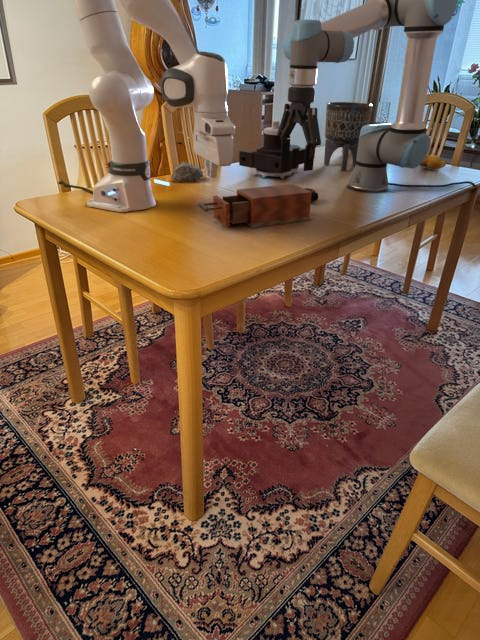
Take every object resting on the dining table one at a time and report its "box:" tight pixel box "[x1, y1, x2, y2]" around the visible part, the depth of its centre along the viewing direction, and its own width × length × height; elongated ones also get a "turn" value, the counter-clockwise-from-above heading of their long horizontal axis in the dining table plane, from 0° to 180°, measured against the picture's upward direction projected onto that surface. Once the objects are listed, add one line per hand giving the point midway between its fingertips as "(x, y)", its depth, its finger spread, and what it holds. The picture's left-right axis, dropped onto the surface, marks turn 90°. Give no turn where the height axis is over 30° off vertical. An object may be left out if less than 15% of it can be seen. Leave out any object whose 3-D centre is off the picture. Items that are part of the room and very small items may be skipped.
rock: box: [170, 161, 204, 183], centre depth 180 cm, size 13×9×6 cm, turn 131°
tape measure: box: [303, 187, 319, 202], centre depth 158 cm, size 7×7×4 cm
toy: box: [418, 154, 447, 171], centre depth 211 cm, size 11×6×15 cm
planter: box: [323, 101, 374, 172], centre depth 204 cm, size 20×20×26 cm
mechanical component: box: [238, 120, 305, 179], centre depth 191 cm, size 22×21×30 cm
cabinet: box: [236, 183, 312, 229], centre depth 139 cm, size 20×11×9 cm, turn 115°
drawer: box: [197, 194, 251, 228], centre depth 135 cm, size 24×10×7 cm, turn 115°
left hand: (211, 176), depth 126 cm, fingers closed
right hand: (295, 165), depth 136 cm, fingers open, 13 cm apart
